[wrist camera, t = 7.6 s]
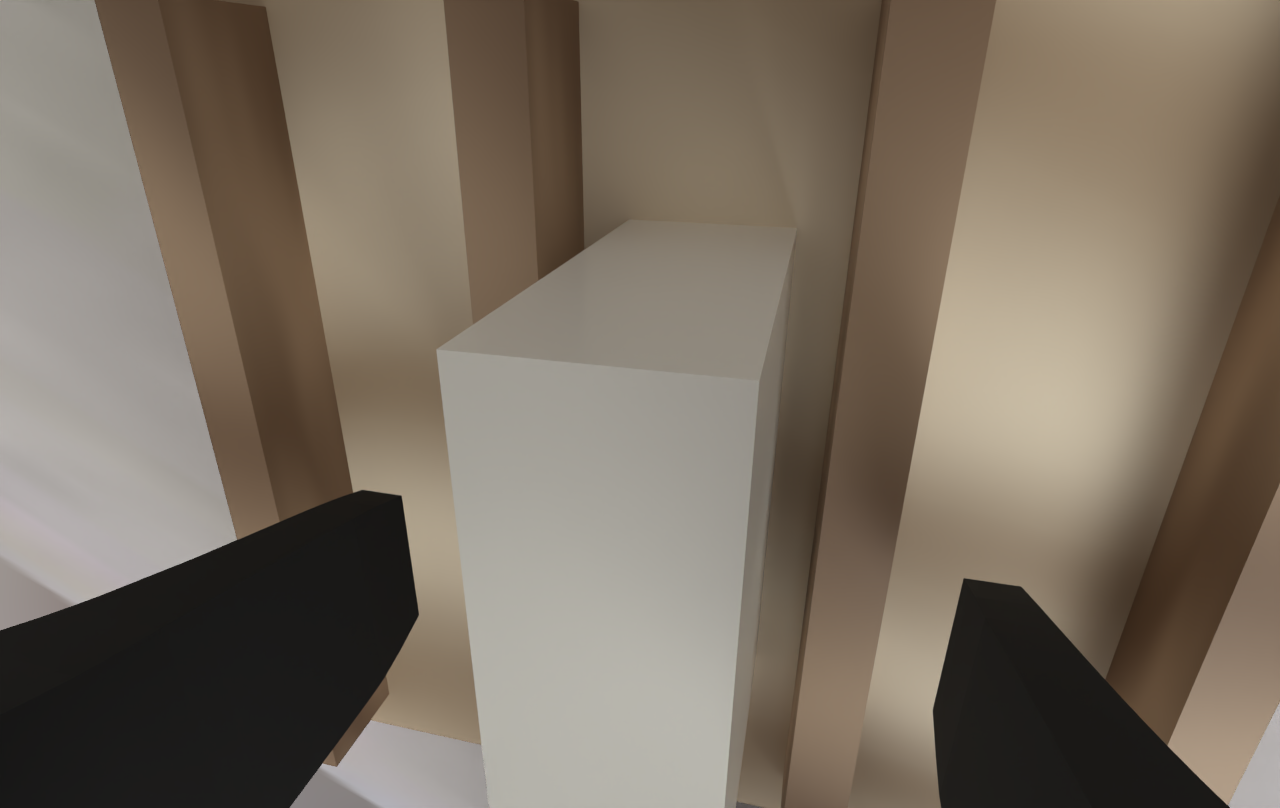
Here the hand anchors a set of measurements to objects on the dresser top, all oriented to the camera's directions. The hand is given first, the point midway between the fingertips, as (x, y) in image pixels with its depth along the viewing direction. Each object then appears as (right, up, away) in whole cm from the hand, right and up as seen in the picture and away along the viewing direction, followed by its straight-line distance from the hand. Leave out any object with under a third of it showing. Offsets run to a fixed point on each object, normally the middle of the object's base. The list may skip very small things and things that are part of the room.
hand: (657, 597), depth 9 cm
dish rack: (+1, +2, +4) cm, 4 cm away
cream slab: (+1, +1, +3) cm, 4 cm away
